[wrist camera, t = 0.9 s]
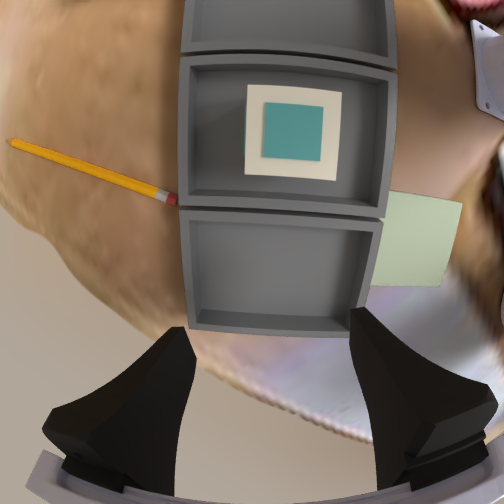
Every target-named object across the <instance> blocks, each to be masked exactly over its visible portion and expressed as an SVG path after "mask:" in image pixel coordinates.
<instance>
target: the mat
mask: <svg viewBox="0 0 504 504" xmlns="http://www.w3.org/2000/svg"><path fill="white" fill-rule="evenodd" d="M462 204H463V203H461V202H457V201H452V200H447V199H442V198H436V197H431V196H425V195H419V194H413V193H407V192H400V191H394V190H389V196H388V202H387V208H386V214H385V218H379V219H380V220H381V221H382V222H383V223H384V225H383V231H382V236H381V241H380V246H379V250H378V255H377V259H376V264H375V268H374V272H373V276H372V280H371V284H370V285H379V286H419V287H440V285H441V282H442V279H443V276H444V273H445V270H446V267H447V264H448V260H449V257H450V254H451V250H452V246H453V243H454V239H455V235H456V231H457V227H458V223H459V218H460V214H461V209H462Z"/></svg>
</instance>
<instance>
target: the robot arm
mask: <svg viewBox="0 0 504 504" xmlns="http://www.w3.org/2000/svg"><path fill="white" fill-rule="evenodd" d="M470 26H471V32H472V39H473V48H474V58H475V71H476V103H477V106H478V108H479V109H480V110H482V111H485V112H487V113H489V114H491V115H493V116H495V117H497V118H499V119H501V120H503V121H504V35H499V34H497V33H496V32H494V31H493V30H491V29H490V28H488V27H486V26H485V25H483V24H481V23H480V22H478V21H476V20H471V21H470ZM479 27H480V28H481V29H480V28H479ZM485 104H486V105H487V108H486V105H485ZM349 346H350V351H351V356H352V361H353V365H354V368H355V371H356V374H357V377H358V380H359V383H360V386H361V389H362V393H363V396H364V399H365V402H366V405H367V409H368V413H369V419H370V424H371V430H372V437H373V444H374V452H375V461H376V475H377V491H375V492H370V493H366V494H361V495H356V496H351V497H346V498H339V499H333V500H325V501H318V502H308V503H295V504H493V503H494V502H496V501H497V500H499V499H501V498H502V497H504V434H503V435H501V436H499V437H497V438H496V439H494V440H492V441H491V442H490V443H488V444H487V445H486V446H485V443H484V441H483V440H484V439H485V438H486V434H485V432H484V430H483V429H484V428H485V427H486V425H487V424H488V423H489V421H490V420H491V419H492V417H493V416H494V414H495V413H496V411H497V408H498V402H497V400H496V398H495V396H494V394H493V392H492V391H491V389H490V387H489V386H488V385H487V384H484V383H481V382H477V381H474V380H471V379H468V378H465V377H462V376H460V375H457V374H455V373H452V372H450V371H448V370H446V369H444V368H442V367H440V366H438V365H436V364H434V363H432V362H431V361H429V360H427V359H426V358H424V357H423V356H421V355H420V354H418V353H417V352H415V351H414V350H412V349H411V348H409V347H408V346H407V345H406V344H404V343H403V342H402V341H401V340H399V339H398V338H397V337H396V336H395V335H394V334H393V333H391V332H390V331H389V330H388V329H387V328H386V327H385V326H384V325H383V324H382V323H381V322H380V321H379V320H378V319H377V318H376V317H374V316H373V315H372V314H371V312H370V311H369V310H368V309H366V308H365V307H359V308H353V309H350V339H349ZM196 361H197V358H196V356H195V353H194V351H193V349H192V346H191V344H190V341H189V339H188V336H187V333H186V331H185V328H184V326H183V327H171V328H170V329H169V330H168V331H167V332H166V333H164V334H163V335H162V336H161V337H160V338H159V339H158V340H157V341H156V342H155V343H154V344H153V345H152V346H151V347H150V348H149V349H148V350H147V351H146V352H145V353H144V354H143V355H142V356H141V357H140V358H139V359H137V360H136V361H135V362H134V363H133V364H132V365H131V366H129V367H128V368H127V369H126V370H125V371H124V372H122V373H121V374H120V375H118V376H117V377H116V378H114V379H113V380H112V381H110V382H108V383H107V384H105V385H104V386H102V387H100V388H99V389H97V390H95V391H94V392H92V393H90V394H88V395H87V396H84V397H82V398H80V399H78V400H75V401H73V402H71V403H68V404H65V405H62V406H60V407H57V408H54V409H52V411H51V413H50V414H49V416H48V418H47V420H46V422H45V423H44V425H43V427H42V430H43V433H44V434H45V436H46V437H47V438H48V439H49V440H50V441H51V442H52V443H53V444H54V445H55V446H57V447H58V448H59V449H60V450H61V451H62V452H63V453H64V454H65V455H67V456H66V458H65V460H64V459H62V458H61V457H59V456H57V455H55V454H53V453H50V452H48V451H46V450H43V451H42V453H41V455H40V457H39V459H38V461H37V463H36V465H35V467H34V469H33V471H32V473H31V475H30V477H29V479H28V481H27V483H26V488H27V489H28V490H30V491H31V492H33V493H35V494H36V495H38V496H39V497H41V498H42V499H44V500H46V501H47V502H49V503H50V504H229V503H216V502H206V501H198V500H190V499H184V498H178V497H174V481H175V479H174V476H175V463H176V452H177V444H178V437H179V431H180V425H181V421H182V417H183V413H184V410H185V406H186V403H187V400H188V397H189V393H190V390H191V387H192V383H193V380H194V375H195V368H196Z"/></svg>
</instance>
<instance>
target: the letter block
mask: <svg viewBox="0 0 504 504" xmlns="http://www.w3.org/2000/svg"><path fill="white" fill-rule="evenodd" d="M341 101H342V92H336V91H328V90H321V89H312V88H302V87H290V86H274V85H248V88H247V104H245V122H244V153H243V155H245V174H249V175H269V176H286V177H299V178H312V179H323V180H333V181H336V173H337V162H338V151H339V137H340V121H341Z"/></svg>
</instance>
